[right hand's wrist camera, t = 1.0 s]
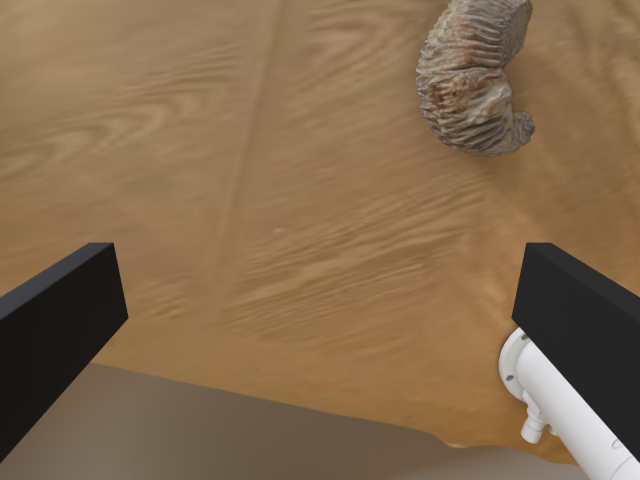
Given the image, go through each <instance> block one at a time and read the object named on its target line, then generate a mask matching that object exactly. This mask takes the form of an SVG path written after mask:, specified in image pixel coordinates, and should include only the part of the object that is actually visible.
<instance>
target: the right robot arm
mask: <svg viewBox="0 0 640 480" xmlns="http://www.w3.org/2000/svg"><path fill="white" fill-rule="evenodd" d="M127 319H128V313H127V308H126V303H125V298H124V293H123V288H122V283H121V278H120V273H119V268H118V263H117V258H116V253H115V248H114V243H88V244H86V245H85V246H83V247H82V248H80V249H78V250H77V251H75V252H73V253H72V254H70V255H69V256H67V257H65V258H64V259H62V260H60V261H59V262H57V263H55V264H54V265H52V266H51V267H49V268H47V269H46V270H44V271H42V272H41V273H39V274H38V275H36V276H34V277H33V278H31V279H29V280H28V281H26V282H25V283H23V284H21V285H20V286H18V287H16V288H15V289H13V290H12V291H10V292H8V293H7V294H5V295H3V296H2V297H0V463H1V462H2V461H3V460H4V459H5V458H6V456H7V455H8V454H9V453H10V452H11V451H12V450H13V448H14V447H15V446H16V445H17V444H18V443H19V442H20V440H21V439H22V438H23V437H24V436H25V435H26V434H27V432H28V431H29V430H30V429H31V428H32V427H33V426H34V425H35V423H36V422H37V421H38V420H39V419H40V418H41V417H42V416H43V414H44V413H45V412H46V411H47V410H48V409H49V408H50V406H51V405H52V404H53V403H54V402H55V401H56V400H57V399H58V397H59V396H60V395H61V394H62V393H63V392H64V391H65V389H66V388H67V387H68V386H69V385H70V384H71V383H72V381H73V380H74V379H75V378H76V377H77V376H78V375H79V374H80V372H81V371H82V370H83V369H84V368H85V367H86V366H87V365H88V363H89V362H90V361H91V360H92V359H93V358H94V357H95V355H96V354H97V353H98V352H99V351H100V350H101V349H102V348H103V346H104V345H105V344H106V343H107V342H108V341H109V340H110V338H111V337H112V336H113V335H114V334H115V333H116V332H117V331H118V329H119V328H120V327H121V326H122V325H123V324H124V323H125V321H126V320H127ZM512 319H513V320H514V321H515V323H516V324H517V325H518V326H519V327H520V328H521V329H522V331H523V332H524V333H525V334H526V335H527V336H528V337H529V338H530V340H531V341H532V342H533V343H534V344H535V345H536V346H537V348H538V349H539V350H540V351H541V352H542V353H543V354H544V355H545V357H546V358H547V359H548V360H549V361H550V362H551V363H552V365H553V366H554V367H555V368H556V369H557V370H558V371H559V372H560V374H561V375H562V376H563V377H564V378H565V379H566V380H567V382H568V383H569V384H570V385H571V386H572V387H573V388H574V389H575V391H576V392H577V393H578V394H579V395H580V396H581V397H582V399H583V400H584V401H585V402H586V403H587V404H588V405H589V406H590V408H591V409H592V410H593V411H594V412H595V413H596V414H597V416H598V417H599V418H600V419H601V420H602V421H603V422H604V424H605V425H606V426H607V427H608V428H609V429H610V430H611V431H612V433H613V434H614V435H615V436H616V437H617V438H618V439H619V441H620V442H621V443H622V444H623V445H624V446H625V447H626V448H627V450H628V451H629V452H630V453H631V454H632V455H633V456H634V458H635V459H636V460H637V461H638V462H639V463H640V297H638V296H637V295H635V294H633V293H632V292H630V291H628V290H627V289H625V288H624V287H622V286H620V285H619V284H617V283H615V282H614V281H612V280H611V279H609V278H607V277H606V276H604V275H602V274H601V273H599V272H598V271H596V270H594V269H593V268H591V267H589V266H588V265H586V264H585V263H583V262H581V261H580V260H578V259H576V258H575V257H573V256H571V255H570V254H568V253H567V252H565V251H563V250H562V249H560V248H558V247H557V246H555V245H554V244H552V243H526V248H525V253H524V258H523V263H522V268H521V273H520V278H519V283H518V288H517V293H516V298H515V303H514V308H513V313H512Z"/></svg>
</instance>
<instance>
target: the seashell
mask: <svg viewBox="0 0 640 480" xmlns="http://www.w3.org/2000/svg"><path fill="white" fill-rule="evenodd" d="M531 14H532V4H531V2H530V0H452V1H451V2H450V3H449V4H448V9H447V10H445V11H443V13H442V15H441V16H440V17H439V18H438V21H437V23H436V24H435V25H434V26H433V30H432V31H430V32H429V35H428V38H427V39H426V40H425V47H423V48H422V49H421V51H420V52H421V54H422V57H421V58H419V61H418V62H419V66H417V69H416V71H417V72H418V73H419V74H420V76H418V77H417V78H416V79H415V82H416V83H417V84H418V85H419V86H420V87H418V88H417V90H418V94H421V96H422V97H421V99H422V100H424V101H423V102H422V104H421V106H420V108H421V112H422V114H423V116H424V117H425V119H426V121H427V122H428V125H430V127H431V129H432V130H433V131H434V134H435V135H436V136H437V138H438V139H440V140H441V141H442V143H443V144H446V145H448V146H450V147H452V148H454V149H455V150H456V151H463V152H465V153H468V154H472V155H474V156H481V155H482V156H484V157H491V156H499V155H502V154H507V153H511V152H514V151H516V150H518V149H519V148H520V147H521V146H523V145H525V144H527V143H528V142H529V141H530V140H531V139H530V136H531V135H532V134H533V133H534V132H535V128H536V127H535V126H534V125H533V122H532V116H531V115H529V114H527V113H525V112H518V113H517V112H513V106H512V102H511V98H512V91H511V87H510V82H509V78H508V77H507V76H506V75H505V73H504V71H503V67H505V66H506V65H507V64H508V63H509V62H510V61H511V60H512V59H513V58H514V56H515V54H517V52H518V51H519V50H520V49H522V48H523V46H524V41H525V36H526V31H527V25H528V23H529V21H530V18H531Z"/></svg>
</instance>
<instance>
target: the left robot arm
mask: <svg viewBox="0 0 640 480" xmlns="http://www.w3.org/2000/svg"><path fill="white" fill-rule="evenodd" d="M499 373H500V377H501V379H502V381H503V383H504V385H505V386H506V387H507V389H508V390H509V392H510V393H511V394H512V395H513V396H515V397H516V398H517V399H519V400H521V401H522V402H524V403H527V404H528V408H527V413H528V415H529V416H528V419H527V420H526V421H525V423H524V425H523V428H522V430H521V435H522V437H523V438H524V439H525V440H526V441H528V442H530V443H534V444H536V443H538V441H539V439H540V437H541V434H542V432H543V430H544V429H543V428H544V425H545V424H549V425H548V427H547V429H548V431H549V432H550V433H551V434H553V435H555V436H559V438H560V439H561V441H562V442H563V443H564V445H565V446H566V448H567V449H568V450H569V452H570V453H571V454H572V456H573V457H574V459H575V460H576V461H577V463H578V464H579V466H580V467H581V468H582V470H583V471H584V473H585V474H586V475H587V477H588V478H589V480H640V463H639V462H638V461H637V460H636V459H635V458H634V456H633V455H632V454H631V453H630V452H629V451H628V450H627V448H626V447H625V446H624V445H623V444H622V443H621V442H620V441H619V439H618V438H617V437H616V436H615V435H614V434H613V433H612V431H611V430H610V429H609V428H608V427H607V426H606V425H605V424H604V422H603V421H602V420H601V419H600V418H599V417H598V416H597V414H596V413H595V412H594V411H593V410H592V409H591V408H590V406H589V405H588V404H587V403H586V402H585V401H584V400H583V399H582V397H581V396H580V395H579V394H578V393H577V392H576V391H575V389H574V388H573V387H572V386H571V385H570V384H569V383H568V382H567V380H566V379H565V378H564V377H563V376H562V375H561V374H560V372H559V371H558V370H557V369H556V368H555V367H554V366H553V365H552V363H551V362H550V361H549V360H548V359H547V358H546V357H545V355H544V354H543V353H542V352H541V351H540V350H539V349H538V348H537V346H536V345H535V344H534V343H533V342H532V341H531V340H530V338H529V337H528V336H527V335H526V334H525V333H524V332H523V331H522V329H521V328H520V327H519V328H518V329H517V330H516V331H515V332H513V333H512V334H511V336H510V337H509V338H508V340H507V341H506V343H505V344H504V346H503V349H502V351H501V353H500V358H499Z"/></svg>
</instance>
